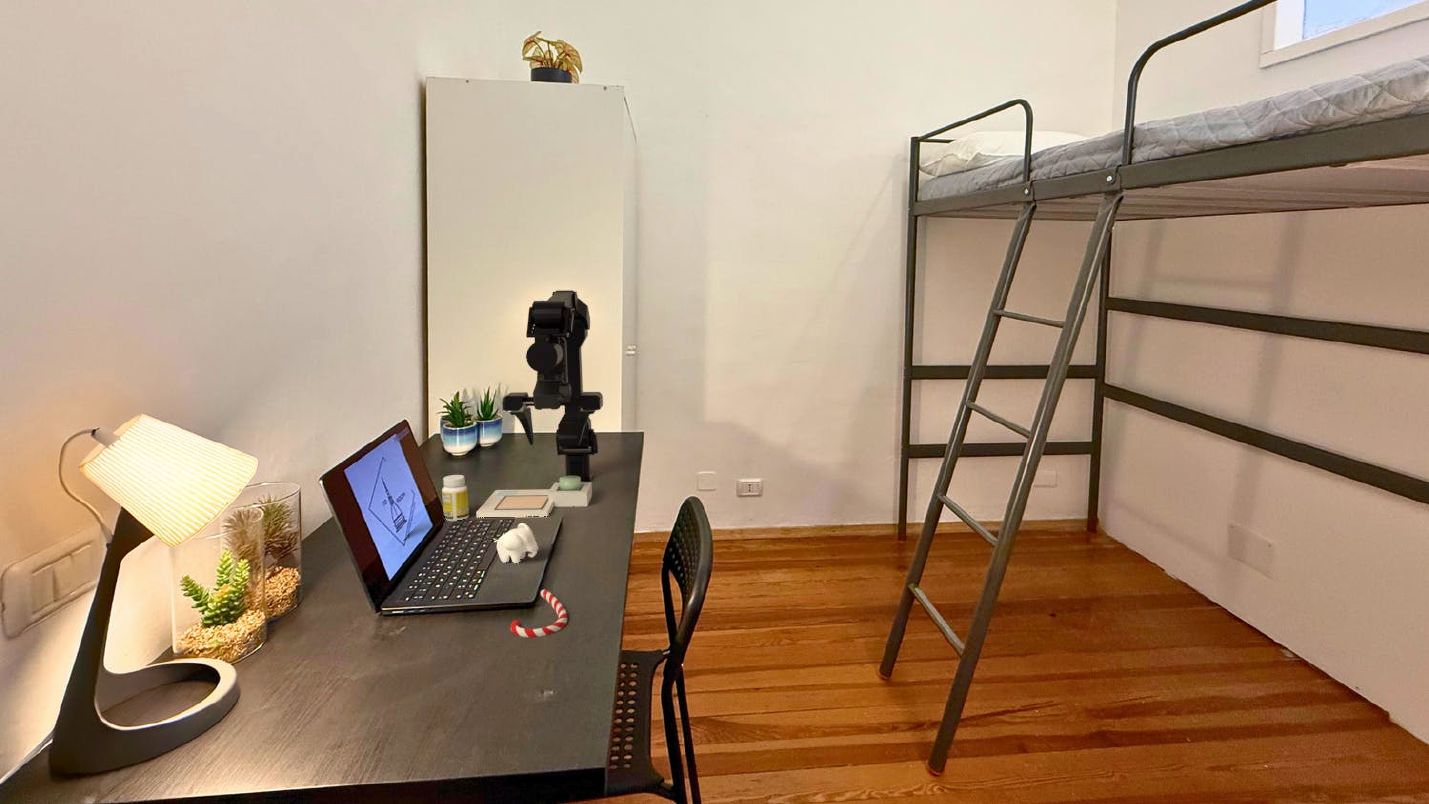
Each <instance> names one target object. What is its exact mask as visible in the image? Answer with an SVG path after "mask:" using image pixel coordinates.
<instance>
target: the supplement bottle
mask: <svg viewBox="0 0 1429 804" xmlns="http://www.w3.org/2000/svg"><path fill="white" fill-rule="evenodd" d="M465 480H466V479H465V476H464V475H463V474H462V475H461V474H451V475H446V476H444V477H443V478H442V481H443V488H442V489H441V497H442V508H443V517H444V516H445V519H446V520H447V521H446V520H445V519H444V520H445V521H446V522H458V521H457V520H462V521H464V520H463V519H465V520H467V519H468V518H469V517H470V511H469V510H470V509H469V496H468V495H469V494H468V486H467V485H465V484H466V483H465Z"/></svg>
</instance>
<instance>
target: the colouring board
mask: <svg viewBox="0 0 1429 804" xmlns="http://www.w3.org/2000/svg"><path fill="white" fill-rule="evenodd" d="M550 489H551V488H549V489H545V488H544V489H495V490H494V491H493V493H492V494H491V495H490V496H489V497H488V498H487V499H486V500H485V502H484V503H483V504H482V505H481V506H480V507H479V509H478V510H476V519H485V518H484V517H515V518H529V517H528V516H532V517H531V518H534V517H533V516H539V517H538V518H548V517H549V515H550V514H551V512H552V510H553V509H554V507H553V501H548V492H549V491H550ZM549 513H550V514H549ZM526 516H527V517H526ZM544 516H546V517H544ZM547 516H548V517H547ZM478 517H479V518H478ZM480 517H481V518H480ZM482 517H483V518H482Z"/></svg>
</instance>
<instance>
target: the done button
mask: <svg viewBox="0 0 1429 804" xmlns="http://www.w3.org/2000/svg"><path fill="white" fill-rule="evenodd" d="M559 483H560V491H579V490H581V478H580V477H579V476H565V475H564V476H561V477H560V478H559Z"/></svg>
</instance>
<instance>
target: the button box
mask: <svg viewBox="0 0 1429 804" xmlns="http://www.w3.org/2000/svg"><path fill="white" fill-rule="evenodd" d="M592 486H593V483H592V481H590V482H581V490H579V491H560V482H554V483H553V484H552V486H551V487H550V488H549V489H550V491H549V492H548V501H553V508H557V507H559V508H560V507H561V508H564V507H565V508H566V507H571V508H572V507H573V506H574V507H588V506H589V503H590V502H591V499H592V496H593V487H592Z"/></svg>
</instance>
